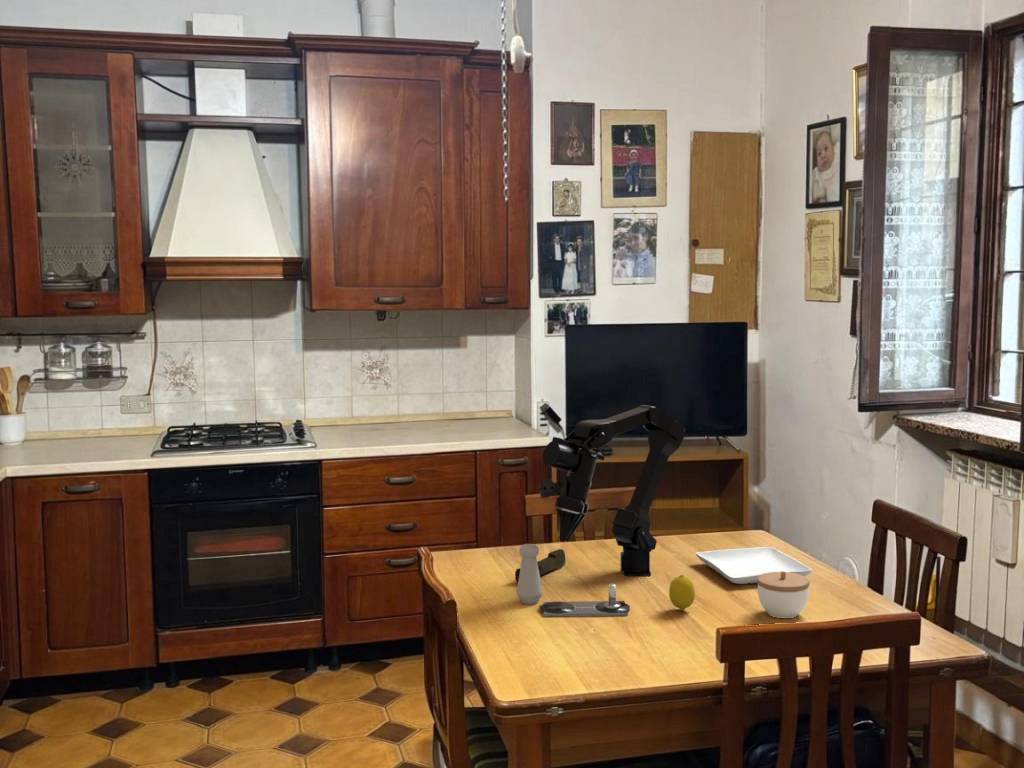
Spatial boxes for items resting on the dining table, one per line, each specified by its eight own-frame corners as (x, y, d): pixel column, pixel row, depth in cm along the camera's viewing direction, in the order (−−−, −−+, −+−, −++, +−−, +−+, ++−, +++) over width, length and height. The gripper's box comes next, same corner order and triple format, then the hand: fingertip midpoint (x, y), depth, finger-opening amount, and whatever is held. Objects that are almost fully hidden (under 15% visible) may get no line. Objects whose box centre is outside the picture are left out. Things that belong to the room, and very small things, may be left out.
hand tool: (527, 586, 243) (527, 567, 243) (514, 583, 246) (514, 564, 245) (574, 567, 258) (574, 549, 258) (560, 564, 261) (560, 546, 260)
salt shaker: (534, 607, 228) (533, 550, 226) (511, 603, 231) (510, 546, 229) (547, 599, 233) (546, 543, 231) (525, 596, 236) (524, 540, 234)
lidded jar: (819, 617, 218) (820, 574, 217) (779, 626, 214) (780, 582, 213) (785, 603, 228) (785, 561, 227) (746, 611, 223) (746, 568, 222)
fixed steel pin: (619, 604, 227) (619, 582, 226) (621, 609, 224) (621, 587, 223) (603, 604, 227) (603, 582, 227) (604, 609, 224) (604, 587, 223)
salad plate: (814, 582, 243) (815, 568, 243) (731, 591, 238) (731, 576, 237) (771, 558, 263) (771, 545, 263) (693, 565, 258) (693, 552, 258)
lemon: (696, 607, 226) (696, 572, 225) (692, 615, 221) (692, 579, 220) (671, 605, 228) (671, 570, 227) (666, 613, 222) (666, 577, 222)
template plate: (628, 603, 229) (627, 600, 229) (631, 615, 221) (631, 613, 221) (539, 604, 230) (539, 601, 230) (540, 616, 222) (539, 614, 222)
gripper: (550, 468, 249) (534, 531, 248) (542, 464, 231) (524, 532, 229) (595, 479, 247) (579, 543, 246) (590, 476, 229) (573, 545, 227)
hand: (563, 541), depth 237 cm, fingers open, 9 cm apart
